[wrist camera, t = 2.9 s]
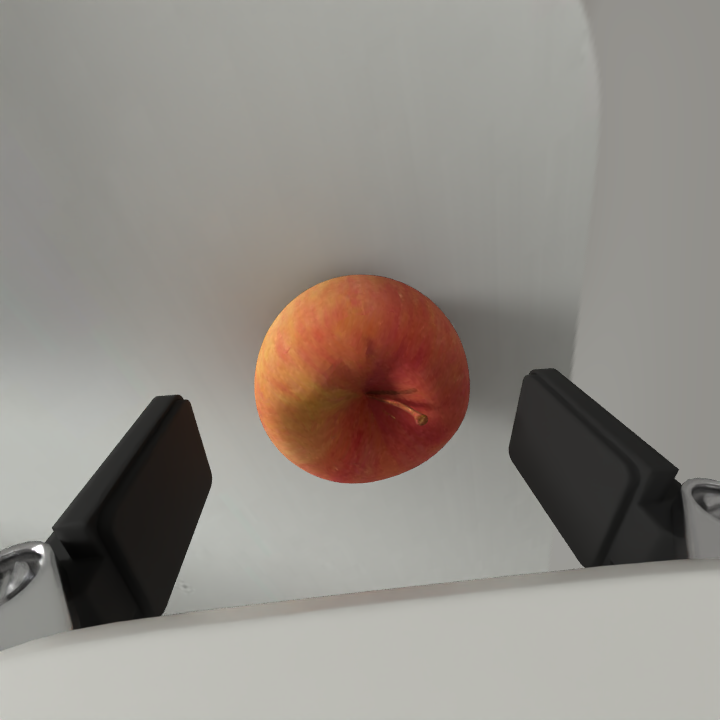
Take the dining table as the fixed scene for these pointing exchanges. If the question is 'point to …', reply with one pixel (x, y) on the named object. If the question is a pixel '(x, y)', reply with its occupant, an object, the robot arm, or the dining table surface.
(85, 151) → the dining table surface
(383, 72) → the dining table surface
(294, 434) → the apple
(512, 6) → the dining table surface
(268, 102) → the dining table surface
